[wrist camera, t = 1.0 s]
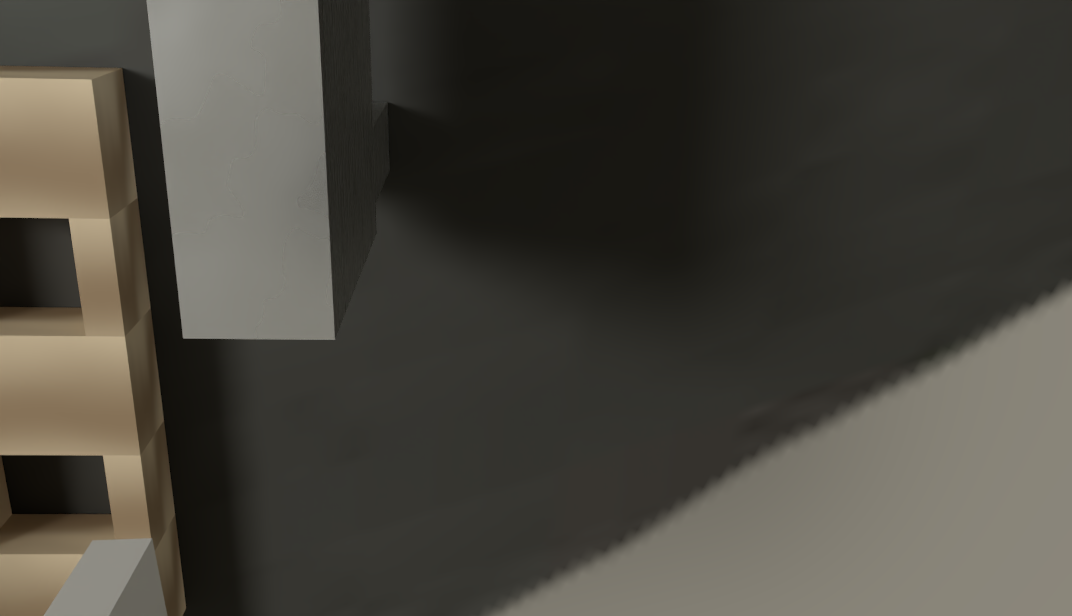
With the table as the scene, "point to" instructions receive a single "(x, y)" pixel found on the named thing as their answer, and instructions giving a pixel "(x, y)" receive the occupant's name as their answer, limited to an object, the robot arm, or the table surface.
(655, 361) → the table surface
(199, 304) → the grey flat block
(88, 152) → the wooden ladder frame
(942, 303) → the table surface
